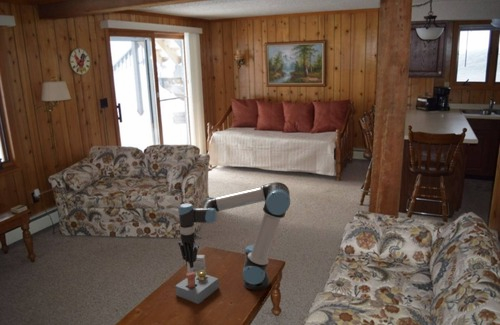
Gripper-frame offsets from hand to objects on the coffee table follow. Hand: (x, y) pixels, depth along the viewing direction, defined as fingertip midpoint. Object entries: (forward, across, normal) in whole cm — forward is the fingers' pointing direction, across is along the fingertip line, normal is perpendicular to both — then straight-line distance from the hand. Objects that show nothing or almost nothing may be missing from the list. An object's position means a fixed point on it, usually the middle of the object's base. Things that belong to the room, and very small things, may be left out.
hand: (190, 272), depth 223 cm
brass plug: (+14, 0, -9) cm, 16 cm away
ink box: (+15, +12, -20) cm, 27 cm away
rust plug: (+10, 0, 0) cm, 10 cm away
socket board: (+15, 0, -5) cm, 15 cm away
